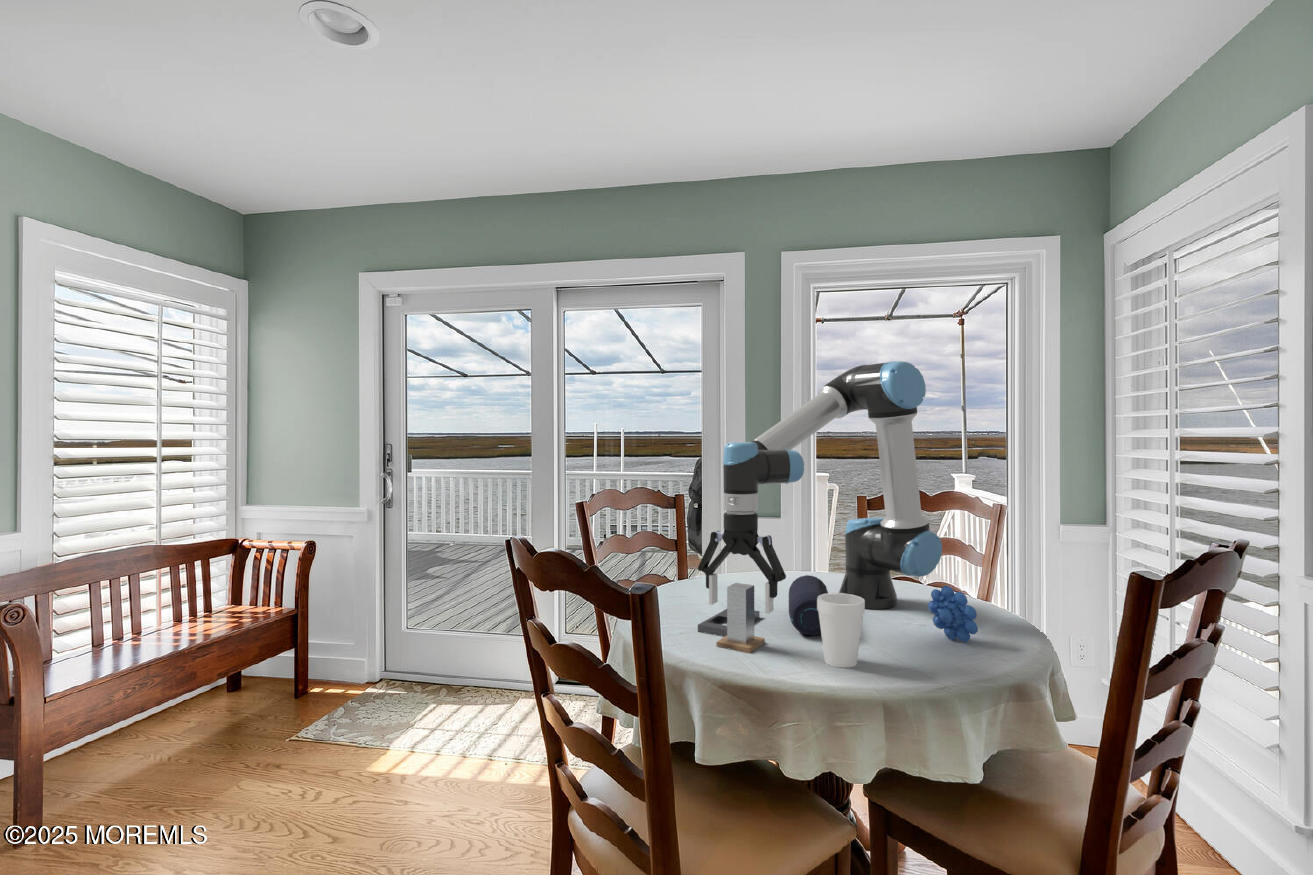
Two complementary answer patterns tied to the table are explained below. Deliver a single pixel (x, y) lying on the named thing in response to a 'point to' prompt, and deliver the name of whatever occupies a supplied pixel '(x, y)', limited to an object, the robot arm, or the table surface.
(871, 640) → the table surface
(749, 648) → the pad
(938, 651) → the table surface
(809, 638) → the table surface
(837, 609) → the foam cup
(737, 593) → the tall grey prism
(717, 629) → the dark grey slotted board
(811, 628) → the portable speaker
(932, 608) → the grapes
